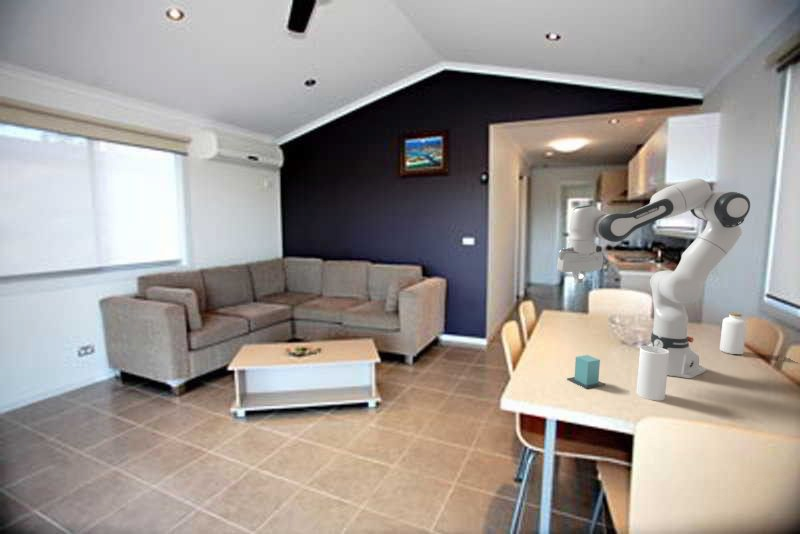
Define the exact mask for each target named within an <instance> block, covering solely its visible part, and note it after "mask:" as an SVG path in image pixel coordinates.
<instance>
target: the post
mask: <svg viewBox="0 0 800 534" xmlns="http://www.w3.org/2000/svg"><path fill="white" fill-rule="evenodd" d="M574 378H575V376H572V377H568V378H566V381H569V382H571V383H573V384H575V385H577V386H579V385H580V386H579V387H581V386H582V387H581V388H583V387H584V388H583V389H585V388H586V389H585V390H589V388H590V389H595V388H600V387H604V386H606V383H604V382H601V380H598V383H596V384H590V385H585V384H583V383H581V382H579V381H577V380H575V379H574Z"/></svg>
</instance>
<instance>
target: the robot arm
mask: <svg viewBox="0 0 800 534" xmlns="http://www.w3.org/2000/svg"><path fill="white" fill-rule="evenodd" d="M649 200H650V201H649V203H648V204H647V205H644V206H642V207H639V208H638V209H636V210H633V211H630V212H627V213H611V214H609V213H607V212H604V211H602V210H600V209H599V208H596V207H595V206H594V205H593V204H588V205H581V206H577V207H575V208H574V209H573V210H572V212H571V216H570V223H569V224H570V225H569V230H570V235H569V239H568V247H563V248H562V249H560V251H559V253H558V258H557V263H556V271H558V272H559V273H572V274H571V275H572V277H573V282H574V284H582V283H584V279H585V277H586V275H587V272H598V271H601V270H602V268H603V263H604V261H603V260H604V255H603V252H604V247H603V246H601V245H599V244H597V243H595V238H598V239H601V240H605V241H608V242H613V243H619V242H621V241H623V240H625V239H627V238H628V237H629V236H630V235H631V234H632V233H633V232H635V231H636V230H638V229H640V228H642V227H644V226H647V225H649V224H652V223H655V222H657V221H659V220H663V219H668V218H673V217H675V216H678V215H681V214H684V213H686V212H689V211H690V213H691V214H692V215H693V216H694V217H695V218H697V219H699V220H701V221H707V223H706V226H705V227H704V230H703V231H702V232H701V233H700V234H699V235H698V236H697V237H696V238H695V239H694V240H693V242H692V243H691V244H690V245H689V246H688V247H687V248H686V249H685V250H684V251H683V253H682V254H681V258H680V261H679V263H678V264H677V266H676V268H675V269H674V270H669V269H668V270H667V269H666V270H659V271H657V272H655V273H654V274H652V276H651V278H650V279H649V286H650V289H651V295H652V305H653V325H652V328H653V329H652V332H651V333H650V334H651V335H650V343H649V344H648V346H655V347H660V348H664V349H666V350H668V351H669V359H668V370H667V376H671V377H677V378H678V377H679V378H685V379H692V378H695V377H698V375H701V374H703V373H705V372H707V369H706V368H705V366H702V365H700V356H699V354H697V353H696V351H694V350H693V349H692V348H691V347H690V344H689V343H693V342H694V337H692V336H688V326H689V315H688V313H687V311H686V306H685V305H689V304H693V303H695V302H697V301H698V300H699V299H700V298H701V296H702V294H703V286H704V284H705V283H706V280H707V278H708V277H709V275H710V274H711V273H712V271H713V270H714V268H716V267H717V266H718V265H719V263H720V262H721V261H722V260H723V259H724V258H725V257H726V256H727V255H728V254H729V253H730V251H732V249H733V248H734V246H735V245H736V243H737V242H738V240H739V239H740V237H741V236H742V233H743V231H742V228H741V226H740V225H742V224H743V223H744V221H745V218H747V216H748V215H749V212H750V208H751V202H750V199H749V198H748V196H747V195H745V194H743V193H741V192H736V191H726V190H725V191H723V190H719V191H712V187H711V186H710V183H708V182H707V181H706V180H704V179H702V178H692V179H689V180H684V181H681V182H677V183H675V184H672V185H669V186H667V187H664V188H662V189H661V190H659V191H658V192H656V193H654V194H652V196H651V197H650V199H649ZM579 274H580V275H579Z"/></svg>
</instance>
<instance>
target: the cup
mask: <svg viewBox="0 0 800 534" xmlns="http://www.w3.org/2000/svg"><path fill="white" fill-rule="evenodd" d="M668 359H669V351H668V350H666V349H664V348H660V347H655V346H649V345H643V346H640V347H639V359H638V371H637V381H636V394H637V395H638V396H639V397H641V398H643V399H646V400H648V401H658V402H659V401H664V400H665V398H666V392H667V391H666V388H667V378H668V375H667V370H668Z"/></svg>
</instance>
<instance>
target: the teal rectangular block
mask: <svg viewBox="0 0 800 534" xmlns="http://www.w3.org/2000/svg"><path fill="white" fill-rule="evenodd" d="M574 363H575V365H574V377H575V378H574V379H575V380H577V381H579V382H581V383H583V384H585V385H590V384H596V383H598V381H600V380H599V379H600V378H599V377H600V367H601V359H599V358H596V357H593V356H591V355H589V354H585V355H579V356H578V355H577V356H575V362H574Z"/></svg>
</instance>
